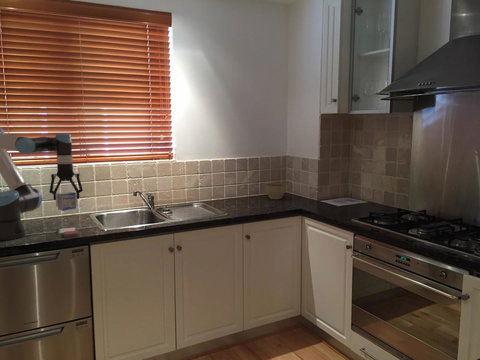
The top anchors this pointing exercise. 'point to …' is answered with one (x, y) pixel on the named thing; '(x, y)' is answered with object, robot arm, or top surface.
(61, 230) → the paper card
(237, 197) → the top surface
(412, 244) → the top surface
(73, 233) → the ink pad
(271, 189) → the planter bowl
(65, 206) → the medicine box
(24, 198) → the robot arm
